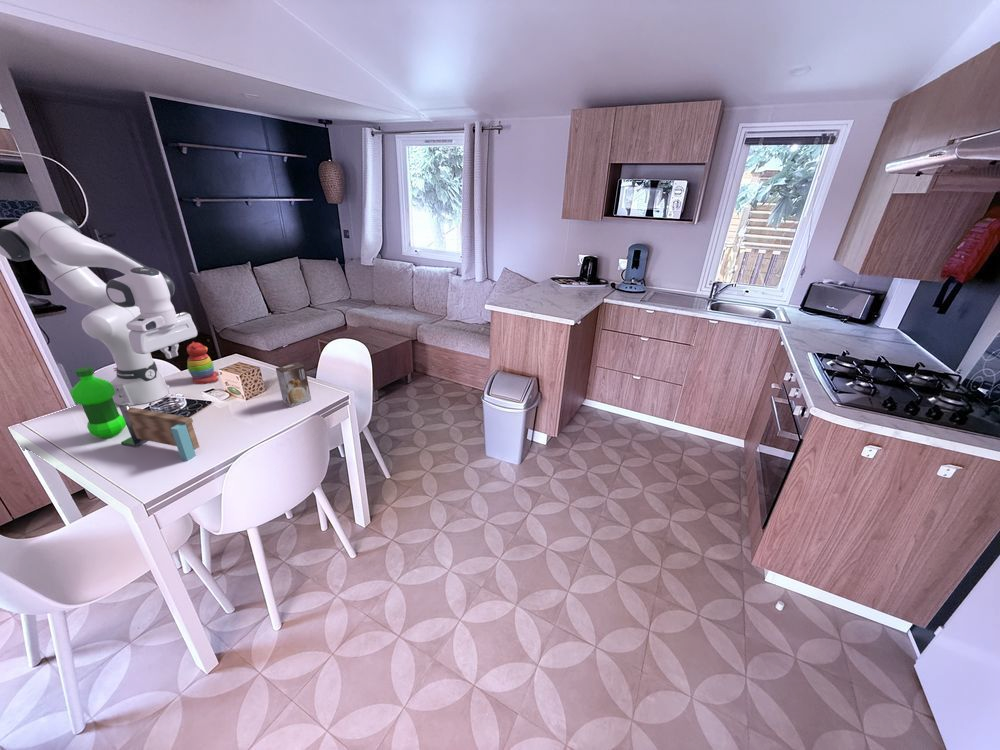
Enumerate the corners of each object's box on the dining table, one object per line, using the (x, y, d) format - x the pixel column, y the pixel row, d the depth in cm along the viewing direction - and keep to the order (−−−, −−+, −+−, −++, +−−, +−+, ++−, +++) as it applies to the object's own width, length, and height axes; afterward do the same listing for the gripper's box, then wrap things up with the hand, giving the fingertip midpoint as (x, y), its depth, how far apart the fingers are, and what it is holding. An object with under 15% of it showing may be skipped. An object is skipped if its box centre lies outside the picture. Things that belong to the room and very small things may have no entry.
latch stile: (181, 459, 130) (170, 428, 125) (189, 454, 132) (179, 423, 127) (187, 460, 129) (176, 429, 124) (196, 455, 132) (185, 424, 127)
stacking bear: (218, 382, 180) (208, 345, 173) (191, 386, 175) (179, 348, 168) (218, 373, 189) (209, 337, 181) (192, 377, 184) (181, 340, 176)
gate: (135, 438, 135) (124, 410, 131) (142, 435, 137) (131, 407, 133) (194, 450, 131) (185, 421, 126) (200, 446, 133) (191, 418, 129)
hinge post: (121, 444, 135) (106, 408, 130) (139, 435, 141) (126, 400, 135) (136, 447, 134) (121, 411, 128) (153, 437, 140) (140, 402, 134)
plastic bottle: (83, 443, 135) (52, 377, 124) (102, 427, 144) (75, 364, 134) (119, 440, 137) (92, 374, 127) (136, 424, 147) (111, 362, 136)
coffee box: (303, 395, 173) (297, 361, 166) (311, 400, 169) (305, 365, 163) (282, 403, 166) (275, 367, 159) (290, 408, 162) (283, 372, 156)
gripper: (181, 309, 141) (192, 346, 147) (120, 326, 123) (135, 366, 129) (196, 311, 140) (206, 348, 146) (136, 328, 122) (151, 369, 128)
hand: (172, 357), depth 137 cm, fingers closed
